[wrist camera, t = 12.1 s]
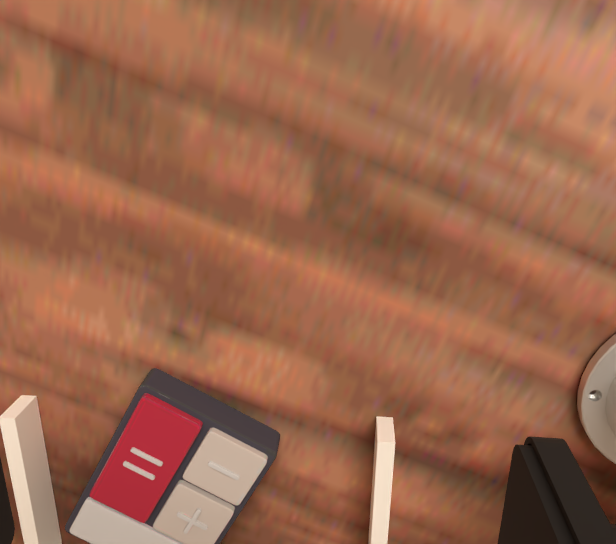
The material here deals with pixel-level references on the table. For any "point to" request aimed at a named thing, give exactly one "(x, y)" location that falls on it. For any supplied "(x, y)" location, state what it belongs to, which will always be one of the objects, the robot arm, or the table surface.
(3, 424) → the slot
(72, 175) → the table surface
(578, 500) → the robot arm
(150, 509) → the calculator
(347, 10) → the table surface
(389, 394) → the table surface
